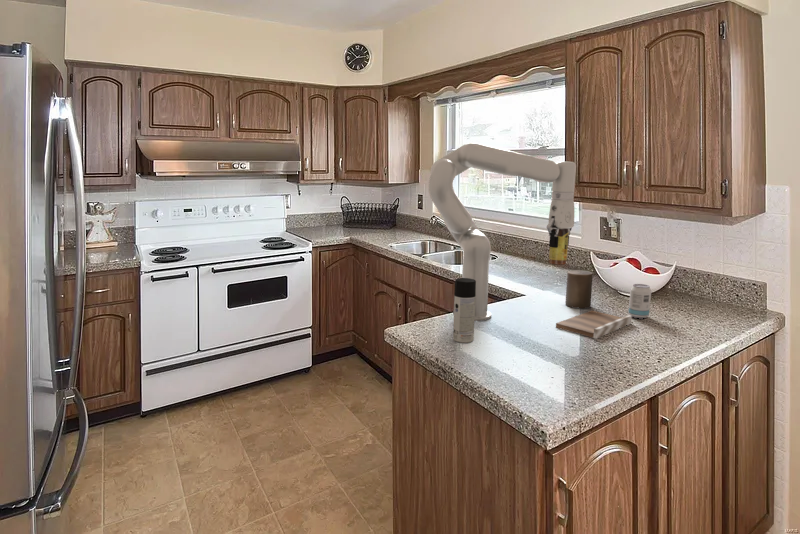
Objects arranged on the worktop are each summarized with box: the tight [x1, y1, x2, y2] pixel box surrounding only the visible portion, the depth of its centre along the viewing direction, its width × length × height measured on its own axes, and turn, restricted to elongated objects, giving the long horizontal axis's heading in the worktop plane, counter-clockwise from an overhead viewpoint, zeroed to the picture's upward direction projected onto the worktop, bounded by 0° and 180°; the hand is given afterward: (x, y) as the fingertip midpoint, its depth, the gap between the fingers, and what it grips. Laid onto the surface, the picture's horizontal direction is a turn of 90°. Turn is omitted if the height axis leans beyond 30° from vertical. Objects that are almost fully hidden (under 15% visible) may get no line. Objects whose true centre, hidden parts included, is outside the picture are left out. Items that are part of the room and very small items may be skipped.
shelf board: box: [555, 310, 633, 339], centre depth 175 cm, size 24×15×3 cm, turn 130°
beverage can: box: [627, 283, 652, 320], centre depth 184 cm, size 7×7×12 cm
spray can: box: [452, 277, 476, 344], centre depth 159 cm, size 7×7×20 cm
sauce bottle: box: [548, 226, 570, 266], centre depth 181 cm, size 7×6×20 cm
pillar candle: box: [564, 269, 594, 310], centre depth 199 cm, size 10×10×15 cm
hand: (558, 245), depth 182 cm, fingers closed on sauce bottle, 6 cm apart
